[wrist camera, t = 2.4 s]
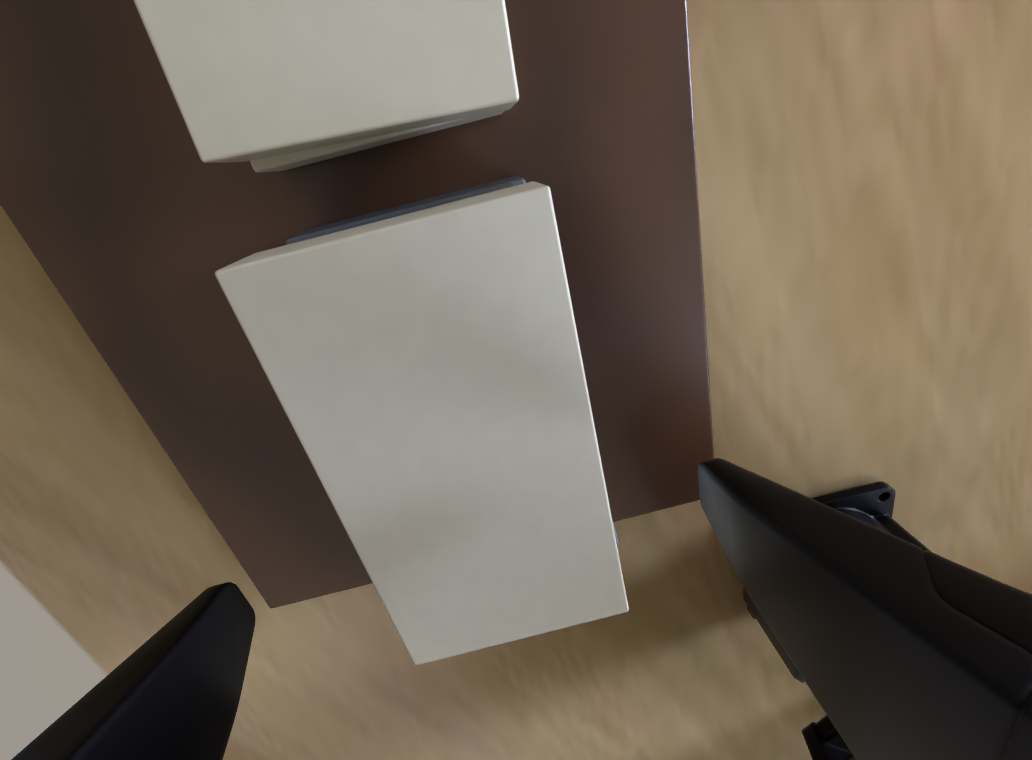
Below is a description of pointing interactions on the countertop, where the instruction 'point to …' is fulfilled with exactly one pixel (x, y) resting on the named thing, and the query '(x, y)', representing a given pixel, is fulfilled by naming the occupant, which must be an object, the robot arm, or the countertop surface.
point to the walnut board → (346, 194)
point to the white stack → (328, 72)
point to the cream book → (445, 414)
